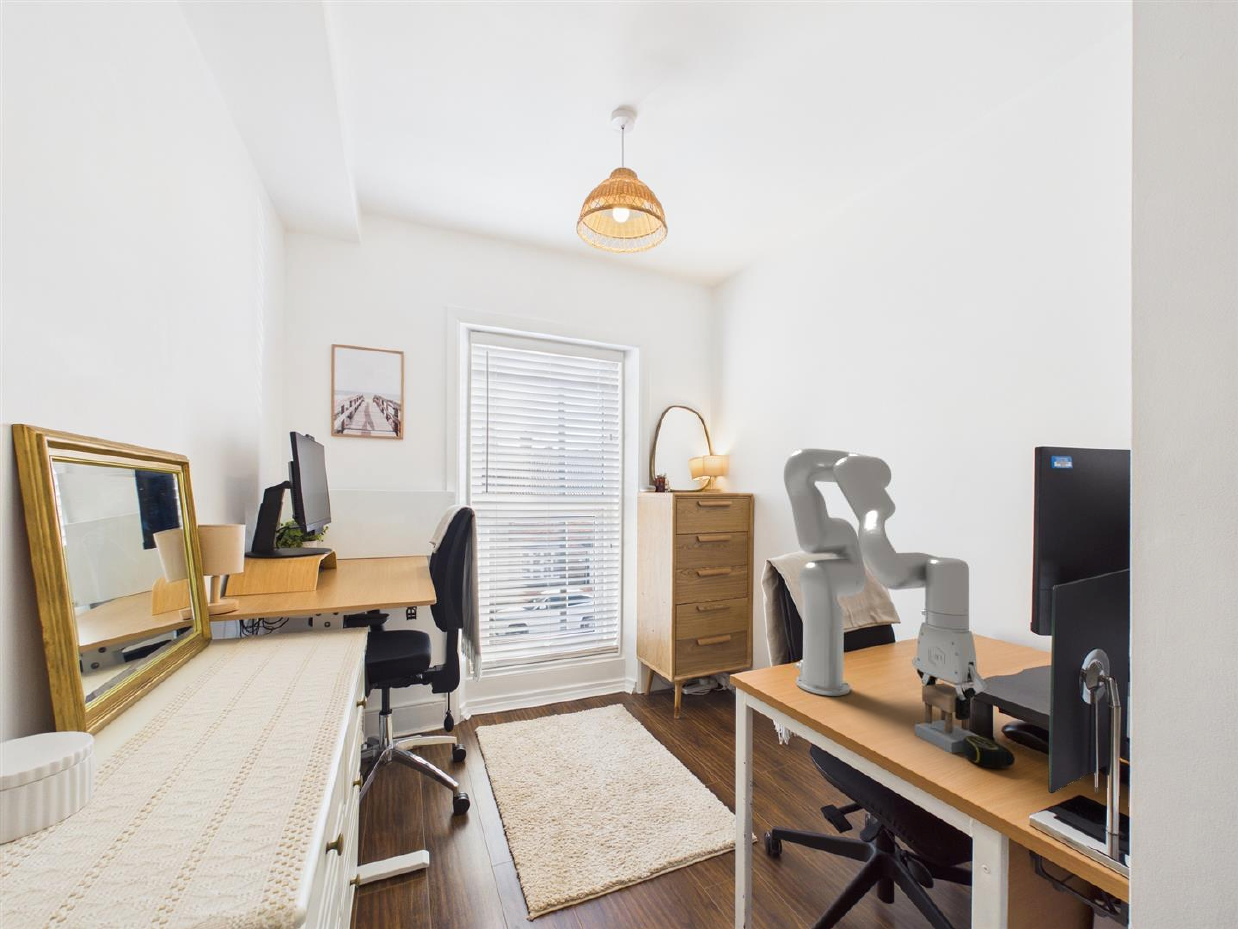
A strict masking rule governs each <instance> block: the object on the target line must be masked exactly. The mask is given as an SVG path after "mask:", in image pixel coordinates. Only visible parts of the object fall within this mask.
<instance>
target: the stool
mask: <svg viewBox="0 0 1238 929" xmlns="http://www.w3.org/2000/svg"><path fill="white" fill-rule="evenodd" d="M921 689H922V690H921V692H922V693H921V699H922V700H921V701H922V702H923V703H924V706H925V707H924V713H925V714H924V723H928V724H932V722H933V707H935V708H937V709H939V710H940V720H943V721H945V732H947V733H953V731H952V724H953V713H954V714H955V712H956V698H959V697H958V694H957V691H956V688H955V686H952V685H950V684H947V683H945V682H942V683H935V684H934V685H927V686H925V685H922V687H921ZM972 709H973V699H970V710H971V711H972ZM960 721H961V723H960V724H961V726H960V727H961V729H963V730H967V731H970V730H969V727H970V725H969V721H970V718H969V719H964V720H960Z"/></svg>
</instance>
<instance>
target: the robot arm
mask: <svg viewBox="0 0 1238 929" xmlns="http://www.w3.org/2000/svg"><path fill="white" fill-rule="evenodd" d="M786 460H787V461H786V463H785V465H784V469H783V481H784V486H785V489H786V492H787V495H788V498H789V501H790V505H791V511H792V518H793V522H794V526H795V532H796V537H797V541H798V545H799V548H800V549H801V550H802V551H803V552H804V553H806V554H809V555H829V558H828V559H826V558H824V559H823V558H822V559H814V560H811V561H809V562H806V564H804V565H803V566H802V568H801V569H800V573H799V578H798V579H799V586H800V591H801V596H802V612H803V613H802V614H803V615H802V635H803V636H802V659H801V660H799V662H796V663H795V668H796V669H798V670H800V675H797V677H796V679H795V682H796V685H797V687H799V688H800V689H802V690H804V691H806V692H809V693H813V694H816V695H821V696H830V697H831V696H832V697H839V696H840V697H841V696H844V695H847V694H849V693H850V692H851V686H850V683H848V682H847V681H845V680H844V644H845V643H844V639H845V638H844V636H845V635H844V633H845V632H844V631H845V628H844V627H845V626H844V625H845V624H844V622H845V621H844V613H843V609H842V607H841V605H840V603H839V600H838V598H840V597H842V598H843V597H850V596H851V597H852V596H856V595H858V594H860V593H861V592H863V590H864V588H865V586H866V583H867V574H866V568H865V564H866V565H867V566H866V567H868V569H869V571H870V572H871V574H872V575H873V577H874V578H875V580H876V581H877V582H878V583H879V584H880V585H881V586H883V587H884V588H887V589H888V590H894V591H899V590H910V589H911V590H912V589H924V592H925V593H924V595H925V596H924V597H925V599H924V601H925V602H924V605H925V607H924V608H923V609H921V614H922V616H924V621H923V622H921V625H920V628H919V632H918V638H917V645H916V656H915V657H914V658H913V659H911V661H910V662H911V664H912V666H913V667H914V668H915V670H916V673H917V674H918V676H919V678H920V679H921V680H920V681H921V684H922V686H927V685H934V684H937V682H938V679H939V680H940V681H941V680H942V681H945V682H946V683H949V684H952V685H954V687H955V688H956V691H957V694H958V697H959V698H956V712H954V716H955V719H956V720H958V721H961V720H964V719H969V720H970V718H971V711H972V709H971V710H970V699H972V700H973V699H974V698H975V697H976V696H977V695H978V694H980V693H981V692H983V691H985V690H986V689H987V688H988V686H987V684H986V682H985V680H984V679H983V678H982V676H981V674H979V672H978V667H977V666H978V665H977V653H976V652H977V651H976V647H975V641H974V640H975V639H974V636H973V632H972V630H970V568H969V564H968V563H967V562H966V561H965V560H963V559H958V558H953V557H938V556H934V555H931V554H929V553H924V552H896V550H895V548H894V546H893V545H892V543H891V542H890V540H889V537H888V535H887V533H886V529H885V524H886V521H888V519H890V518H891V517H892V516H893V515H894V513H895V512H896V504H895V503H894V500H892V498H891V496H890V495H889V493H888V492H887V490H886V488H887V487H888V486H889V485H890V483H891V480H892V471H891V468H890V466H889V465H888V464H887V462H886V461H884V460H883V459H882V458H879V457H877V456H869V455H864V454H859V453H854V452H849V451H843V450H835V449H823V448H803V449H799V450H796V451H794V452H793V453H792V454H791V455H790V456H789V457H788V458H787V459H786ZM816 482H822V483H826V482H827V483H836V484H837V486H838V488H839V489H840V491H841V493H842V495H843V496H844V498H845V500H846V501H847V503H848V505H849V507H850V508H851V509H852V512H853V514H854V515H855V517H856V519H857V520H858V530H857V532H856V530H855V528H854V526H853V525H852V523H850V522H849V521H848V520H846V519H844V518H841V517H830V516H829V513H828V509H827V503H826V501H825V497H824V496H823V494H822V492H821V491H820V489H819V488H818V487H817V486H816ZM864 562H865V563H864ZM972 683H973V685H972V686H971V684H972Z"/></svg>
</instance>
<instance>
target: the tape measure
mask: <svg viewBox="0 0 1238 929" xmlns="http://www.w3.org/2000/svg"><path fill="white" fill-rule="evenodd" d="M961 752H962V753H963V755H964V757H965V758H967V759H968V760H969V761H971V762H973V763H976V764H977V765H979V766H983V767H986V768H992V769H1001V768H1004V767H1011V766H1012V765H1014V764H1015V759H1016V758H1015V754H1014V752H1012V751H1011V750H1010V749H1008V748H1006V747H1005V746H1003V745H1001V744H999V743H998V742H996V741H994V740H992V739H991V738H989V737H987V736H985V735H978V736H973V735H970V736H966V737H965V738H964V740H963V743H962V751H961Z"/></svg>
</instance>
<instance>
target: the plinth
mask: <svg viewBox="0 0 1238 929" xmlns="http://www.w3.org/2000/svg"><path fill="white" fill-rule="evenodd" d="M952 731H953V733H947V732H945V721H943V720H941V719H940V720H939V719H938V720H935V721H933V720H932V724H928V723H926V722H924V723H923V722H922V723H917V724H914V736H916V737H919V738H921V739H922V740H923V741H924V740H925V741H926V742H928V743H930V744H932V745H933V746H937V748H940V749H941V750H944V751H946V752H948V753H950V754H954V753H961V752H963V751H962V743H963V740H964V738H965V737H966V736H970V735H973V736H979V735H978V734H976V733H974V732H971V731H970V730H963V729H961V726H958V725H956V724H955V723H954V724H953V723H952Z"/></svg>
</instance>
